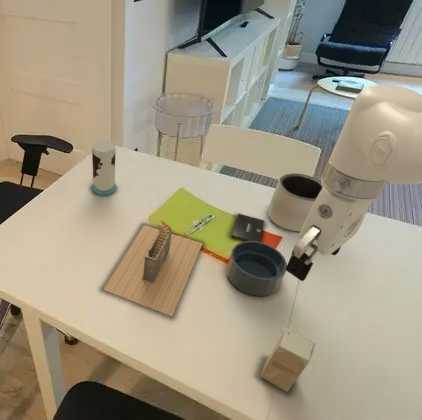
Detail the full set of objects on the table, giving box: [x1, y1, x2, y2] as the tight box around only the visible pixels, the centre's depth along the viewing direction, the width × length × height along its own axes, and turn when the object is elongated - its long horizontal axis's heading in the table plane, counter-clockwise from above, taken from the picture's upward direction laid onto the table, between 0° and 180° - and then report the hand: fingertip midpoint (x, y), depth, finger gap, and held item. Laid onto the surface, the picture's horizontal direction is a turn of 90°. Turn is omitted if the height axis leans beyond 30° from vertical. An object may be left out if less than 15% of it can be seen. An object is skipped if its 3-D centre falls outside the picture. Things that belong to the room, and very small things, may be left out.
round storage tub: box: [225, 240, 288, 297], centre depth 86 cm, size 12×12×6 cm
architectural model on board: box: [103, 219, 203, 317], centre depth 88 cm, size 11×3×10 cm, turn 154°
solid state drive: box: [231, 213, 265, 242], centre depth 101 cm, size 7×10×1 cm
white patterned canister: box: [91, 139, 117, 196], centre depth 111 cm, size 7×7×15 cm
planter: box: [267, 172, 323, 232], centre depth 101 cm, size 12×12×11 cm
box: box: [260, 327, 316, 393], centre depth 66 cm, size 5×4×11 cm
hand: (311, 262), depth 63 cm, fingers open, 9 cm apart
